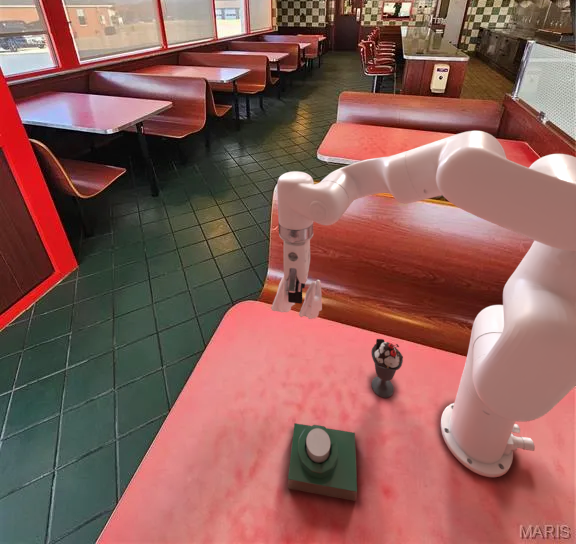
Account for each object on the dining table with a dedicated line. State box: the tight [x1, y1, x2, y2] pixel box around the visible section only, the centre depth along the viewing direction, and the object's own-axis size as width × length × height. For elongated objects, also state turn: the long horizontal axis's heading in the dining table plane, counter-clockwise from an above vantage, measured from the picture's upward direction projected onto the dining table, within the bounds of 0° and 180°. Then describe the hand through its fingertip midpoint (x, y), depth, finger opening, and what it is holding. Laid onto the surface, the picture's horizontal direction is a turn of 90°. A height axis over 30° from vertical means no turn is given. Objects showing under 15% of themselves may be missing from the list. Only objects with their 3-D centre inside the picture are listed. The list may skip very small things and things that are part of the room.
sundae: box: [370, 338, 404, 399], centre depth 73 cm, size 7×7×15 cm
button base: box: [287, 422, 358, 502], centre depth 61 cm, size 12×9×5 cm
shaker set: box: [270, 275, 323, 320], centre depth 78 cm, size 12×4×11 cm, turn 83°
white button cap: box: [306, 428, 330, 463], centre depth 60 cm, size 4×4×2 cm
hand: (296, 293), depth 78 cm, fingers closed on shaker set, 4 cm apart
